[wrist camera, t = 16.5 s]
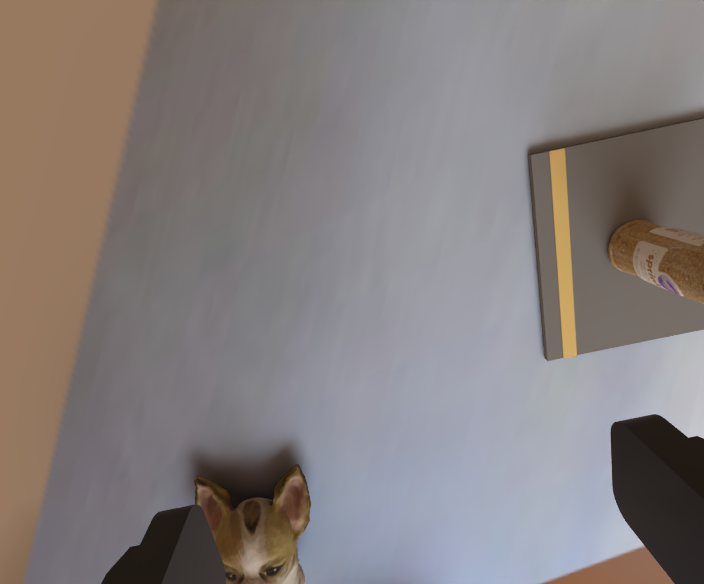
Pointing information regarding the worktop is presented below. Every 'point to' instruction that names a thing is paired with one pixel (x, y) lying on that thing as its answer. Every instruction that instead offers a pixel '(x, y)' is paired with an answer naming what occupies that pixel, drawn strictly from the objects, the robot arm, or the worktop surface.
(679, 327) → the line mat
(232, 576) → the ceramic sculpture
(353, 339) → the worktop surface
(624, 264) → the sprinkles bottle
